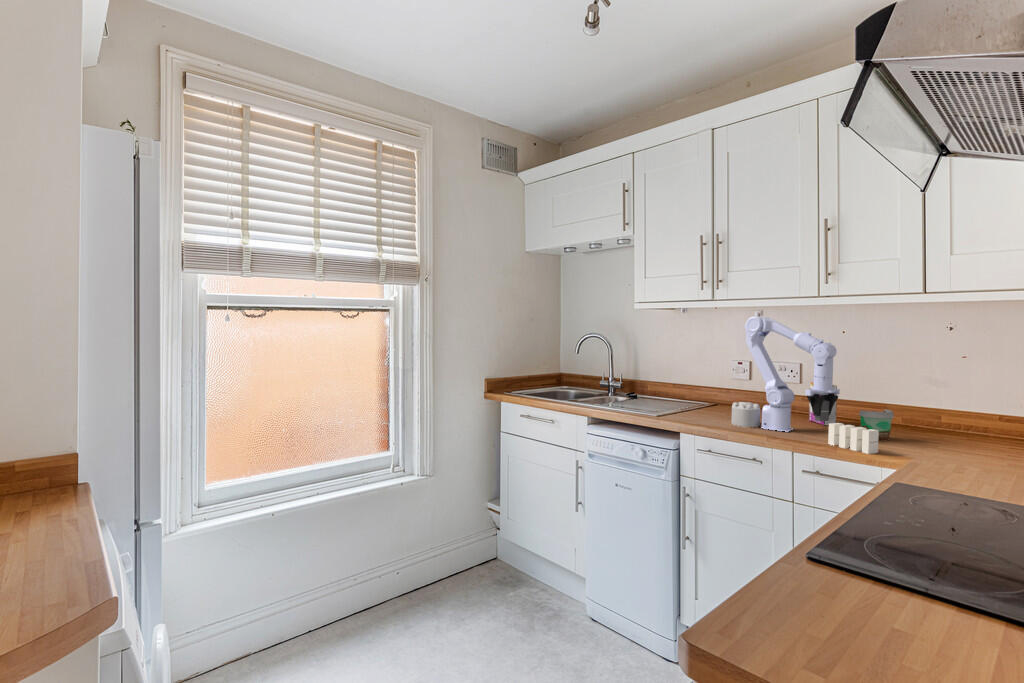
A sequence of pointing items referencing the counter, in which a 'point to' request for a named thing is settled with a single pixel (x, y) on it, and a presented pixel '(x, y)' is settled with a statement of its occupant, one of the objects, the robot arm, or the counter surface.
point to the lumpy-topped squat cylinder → (745, 414)
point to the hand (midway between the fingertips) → (821, 415)
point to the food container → (877, 422)
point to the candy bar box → (831, 417)
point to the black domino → (823, 412)
